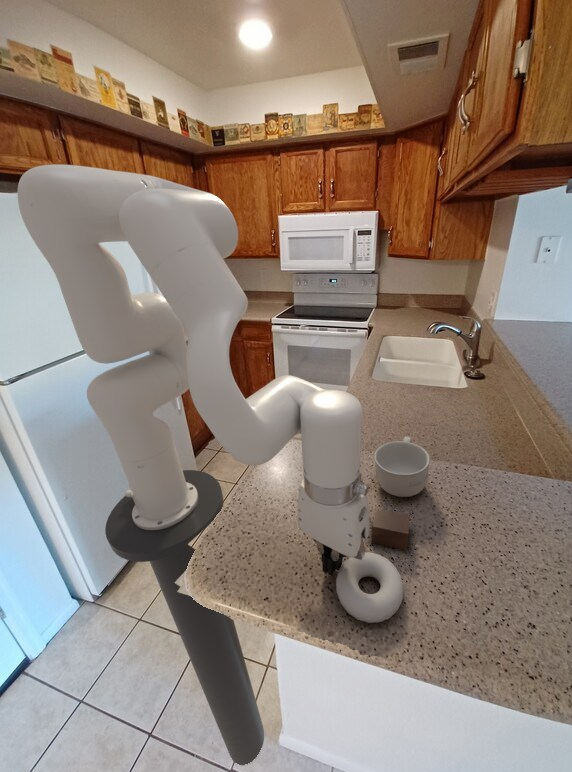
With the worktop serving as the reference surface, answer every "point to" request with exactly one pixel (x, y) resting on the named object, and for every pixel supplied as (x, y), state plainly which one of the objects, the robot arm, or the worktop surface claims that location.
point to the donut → (370, 604)
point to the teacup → (402, 467)
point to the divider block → (390, 529)
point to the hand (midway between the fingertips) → (332, 566)
